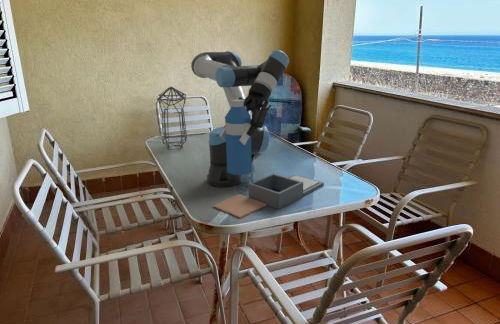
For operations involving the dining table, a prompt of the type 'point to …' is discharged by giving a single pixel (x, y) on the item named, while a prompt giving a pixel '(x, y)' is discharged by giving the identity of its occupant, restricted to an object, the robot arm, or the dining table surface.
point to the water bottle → (237, 139)
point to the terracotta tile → (240, 205)
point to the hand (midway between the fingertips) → (232, 140)
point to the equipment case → (281, 189)
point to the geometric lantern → (176, 112)
